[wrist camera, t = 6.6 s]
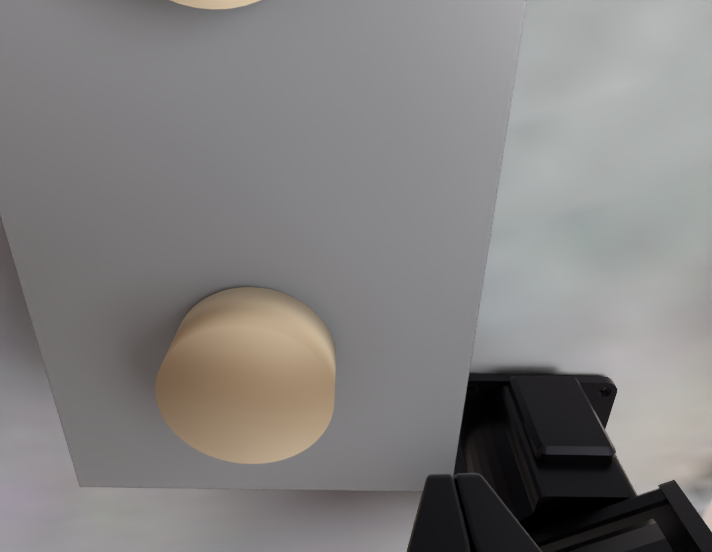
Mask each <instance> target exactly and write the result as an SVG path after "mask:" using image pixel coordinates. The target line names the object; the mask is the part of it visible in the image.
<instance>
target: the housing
mask: <svg viewBox="0 0 712 552" xmlns="http://www.w3.org/2000/svg"><path fill="white" fill-rule="evenodd" d="M526 5H527V0H260V1H257V2H255V3H252V4H249V5H246V6H241V7H236V8H231V9H213V10H212V9H202V8H194V7H190V6H186V5H182V4H178V3H176V2H173V1H171V0H0V216H1V219H2V223H3V226H4V230H5V233H6V236H7V240H8V243H9V247H10V250H11V253H12V257H13V260H14V264H15V267H16V271H17V274H18V277H19V281H20V284H21V288H22V291H23V294H24V298H25V301H26V305H27V308H28V312H29V315H30V318H31V322H32V325H33V329H34V332H35V335H36V339H37V342H38V346H39V349H40V353H41V356H42V359H43V363H44V366H45V370H46V373H47V377H48V380H49V383H50V387H51V390H52V394H53V397H54V400H55V404H56V407H57V411H58V414H59V418H60V421H61V424H62V428H63V431H64V435H65V438H66V441H67V445H68V448H69V452H70V455H71V459H72V462H73V465H74V469H75V472H76V476H77V479H78V482H79V486H80V487H125V488H198V489H272V490H345V491H419V492H423V488H424V484H425V481H426V478H427V476H428V475H430V474H451V475H452V476H453V474H454V467H455V461H456V455H457V448H458V442H459V435H460V429H461V422H462V416H463V410H464V403H465V397H466V390H467V384H468V378H469V371H470V365H471V358H472V352H473V345H474V339H475V333H476V326H477V320H478V313H479V307H480V300H481V294H482V288H483V281H484V275H485V268H486V262H487V255H488V249H489V243H490V236H491V230H492V223H493V217H494V210H495V204H496V198H497V191H498V185H499V178H500V172H501V165H502V159H503V153H504V146H505V140H506V133H507V127H508V121H509V114H510V108H511V101H512V95H513V88H514V82H515V76H516V69H517V63H518V56H519V50H520V43H521V37H522V31H523V24H524V18H525V11H526ZM240 287H257V288H266V289H271V290H275V291H278V292H282V293H285V294H287V295H289V296H292V297H294V298H296V299H297V300H299V301H301V302H303V303H304V304H306V305H307V306H308V307H310V308H311V309H312V310H313V311H314V312H315V313H316V314H317V315H318V316H319V317H320V318H321V319H322V320H323V322H324V323H325V324H326V326H327V328H328V329H329V331H330V333H331V336H332V338H333V341H334V345H335V349H336V373H335V400H334V411H333V414H332V418H331V421H330V423H329V425H328V427H327V429H326V430H325V432H324V433H323V435H322V436H321V437H320V438H319V439H318V440H317V441H316V442H315V443H314V444H312V445H311V446H310V447H309V448H307V449H306V450H304V451H302V452H301V453H299V454H297V455H294V456H292V457H290V458H287V459H284V460H280V461H276V462H271V463H263V464H242V463H234V462H228V461H224V460H220V459H217V458H214V457H211V456H208V455H206V454H204V453H202V452H200V451H198V450H196V449H195V448H193V447H191V446H189V445H188V444H187V443H185V442H184V441H183V440H181V439H180V438H179V437H178V436H177V435H176V434H175V433H174V432H173V431H172V430H171V428H170V427H169V426H168V425H167V423H166V422H165V420H164V418H163V417H162V415H161V412H160V410H159V408H158V404H157V400H156V393H155V386H156V378H157V374H158V371H159V369H160V367H161V365H162V362H163V360H164V358H165V356H166V354H167V352H168V350H169V347H170V345H171V343H172V341H173V339H174V337H175V335H176V333H177V330H178V328H179V326H180V324H181V322H182V320H183V319H184V317H185V316H186V314H187V313H188V312H189V311H190V310H191V309H192V308H193V307H194V306H195V305H196V304H198V303H199V302H200V301H202V300H203V299H205V298H207V297H208V296H211V295H213V294H215V293H218V292H221V291H224V290H228V289H233V288H240Z"/></svg>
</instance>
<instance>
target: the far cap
mask: <svg viewBox="0 0 712 552" xmlns="http://www.w3.org/2000/svg"><path fill="white" fill-rule="evenodd" d="M335 373H336V349H335V345H334V341H333V338H332V336H331V333H330V331H329V329H328V328H327V326H326V324H325V323H324V322H323V320H322V319H321V318H320V317H319V316H318V315H317V314H316V313H315V312H314V311H313V310H312V309H311V308H310V307H308V306H307V305H306V304H304V303H303V302H301V301H299V300H297V299H296V298H294V297H292V296H289V295H287V294H285V293H282V292H278V291H275V290H271V289H266V288H257V287H240V288H233V289H228V290H224V291H221V292H218V293H215V294H213V295H211V296H208V297H207V298H205V299H203V300H202V301H200V302H199V303H198V304H196V305H195V306H194V307H193V308H192V309H191V310H190V311H189V312H188V313H187V314H186V316H185V317H184V319H183V320H182V322H181V324H180V326H179V328H178V330H177V333H176V335H175V337H174V339H173V341H172V343H171V345H170V347H169V350H168V352H167V354H166V356H165V358H164V360H163V362H162V365H161V367H160V369H159V371H158V374H157V378H156V386H155V393H156V400H157V404H158V408H159V410H160V412H161V415H162V417H163V418H164V420H165V422H166V423H167V425H168V426H169V427H170V428H171V430H172V431H173V432H174V433H175V434H176V435H177V436H178V437H179V438H180V439H181V440H183V441H184V442H185V443H187V444H188V445H189V446H191V447H193V448H195V449H196V450H198V451H200V452H202V453H204V454H206V455H208V456H211V457H214V458H217V459H220V460H224V461H228V462H234V463H242V464H263V463H271V462H276V461H280V460H284V459H287V458H290V457H292V456H294V455H297V454H299V453H301V452H302V451H304V450H306V449H307V448H309V447H310V446H311V445H312V444H314V443H315V442H316V441H317V440H318V439H319V438H320V437H321V436H322V435H323V433H324V432H325V430H326V429H327V427H328V425H329V423H330V421H331V418H332V414H333V411H334V400H335Z"/></svg>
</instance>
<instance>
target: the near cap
mask: <svg viewBox="0 0 712 552" xmlns="http://www.w3.org/2000/svg"><path fill="white" fill-rule="evenodd" d="M171 1H173V2H176V3H178V4H182V5H186V6H190V7H194V8H202V9H212V10H213V9H231V8H236V7H241V6H246V5H249V4H252V3H255V2H257V1H260V0H171Z"/></svg>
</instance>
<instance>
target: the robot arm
mask: <svg viewBox="0 0 712 552" xmlns="http://www.w3.org/2000/svg"><path fill="white" fill-rule="evenodd" d="M472 385H475V387H474V388H471V389H469V388H467V390H466V397H465V403H464V410H463V416H462V422H461V429H460V435H459V442H458V448H457V455H456V461H455V467H454V474H453V476H452V475H451V474H430V475H428V476H427V478H426V481H425V484H424V488H423V492H422V496H421V499H420V503H419V507H418V511H417V514H416V518H415V522H414V526H413V530H412V533H411V537H410V541H409V545H408V548H407V552H712V532H711V531H710V529H709V528H708V526H707V525H706V524H705V522H704V521H703V519H702V518H701V517H700V515H699V514H698V512H697V511H696V510H695V508H694V507H693V505H692V504H691V503H690V501H689V500H688V498H687V497H686V495H685V494H684V493H683V491H682V490H681V488H680V487H679V486H678V484H677V483H676V481H675V480H672V481H669V482H666V483H663V484H660V485H658V486H659V488H658V489H655V490H652V491H649V492H646V493H643V494H640V495H638V496H637V494H636V492H635V490H634V488H633V486H632V484H631V483H630V481H629V479H628V477H627V475H626V473H625V471H624V470H623V468H622V466H621V464H620V462H619V460H618V458H617V456H616V455H615V453H616V450H615V448H614V446H613V444H612V442H611V440H610V438H609V437H608V435H607V433H606V431H605V428H606V425H607V422H608V419H609V416H610V412H611V409H612V406H613V403H614V400H615V397H616V394H617V388H616V386H615V384H614V383H613V381H612V380H611V379H610V378H608V377H593V376H537V375H481V374H471V375H469V378H468V384H467V387H469V386H472ZM602 388H606V389H604V390H602V391H600V390H601V389H602Z"/></svg>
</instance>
